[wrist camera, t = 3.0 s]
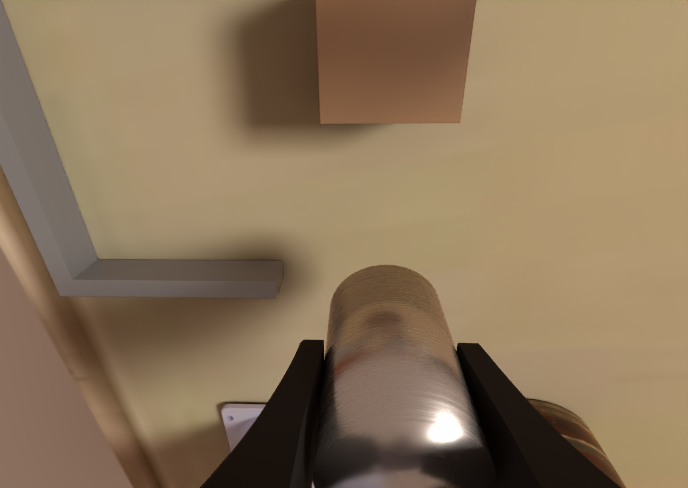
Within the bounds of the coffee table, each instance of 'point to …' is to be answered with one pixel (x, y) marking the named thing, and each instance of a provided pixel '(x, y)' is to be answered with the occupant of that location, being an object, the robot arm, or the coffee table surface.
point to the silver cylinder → (395, 391)
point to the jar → (577, 436)
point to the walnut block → (392, 60)
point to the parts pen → (66, 221)
